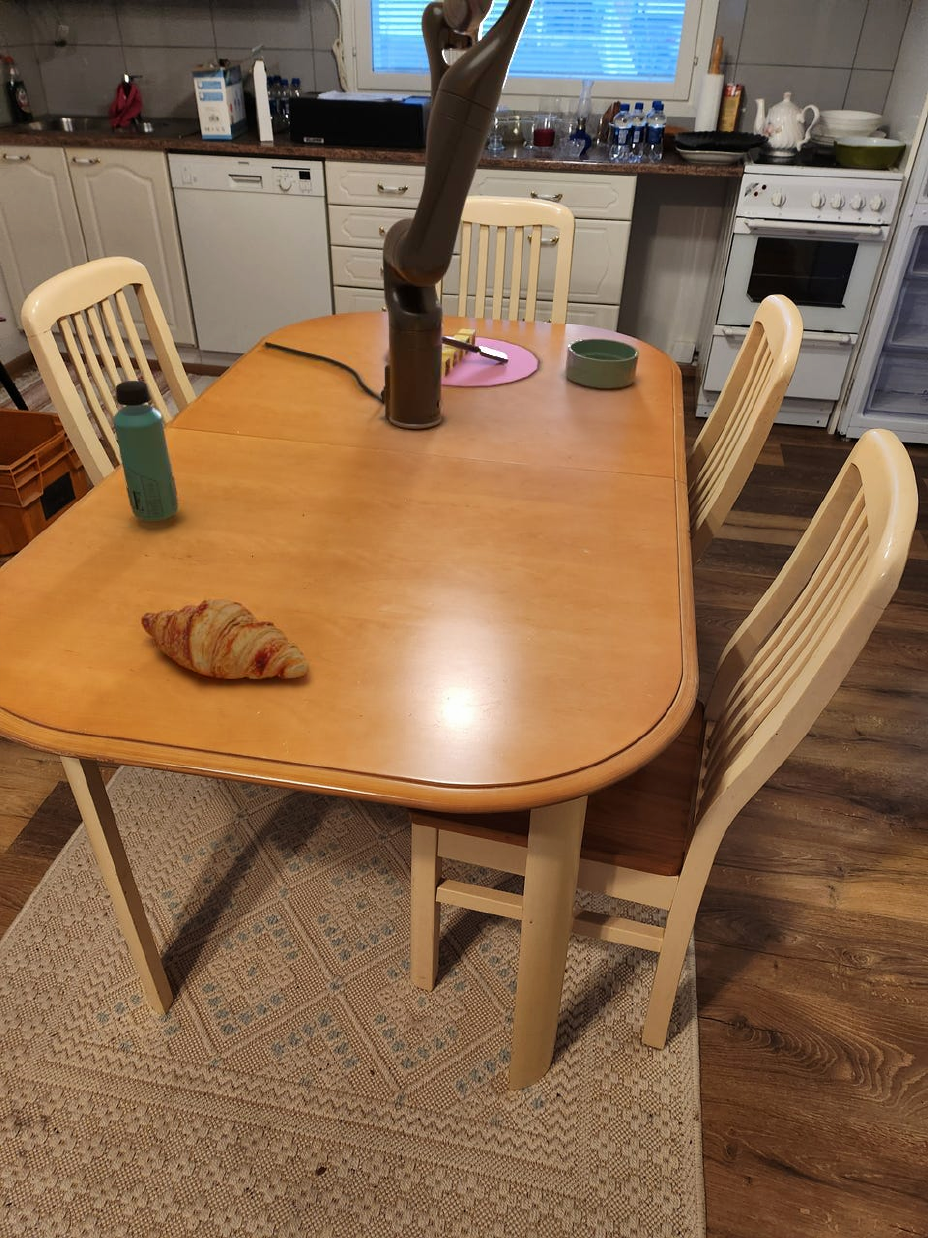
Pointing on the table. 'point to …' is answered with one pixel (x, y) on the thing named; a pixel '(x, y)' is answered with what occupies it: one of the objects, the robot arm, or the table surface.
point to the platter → (484, 362)
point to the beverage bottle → (144, 454)
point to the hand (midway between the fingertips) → (447, 228)
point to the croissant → (224, 641)
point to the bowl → (601, 363)
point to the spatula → (475, 349)
